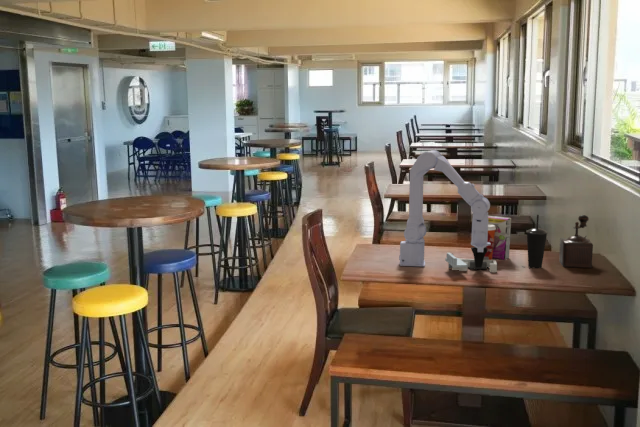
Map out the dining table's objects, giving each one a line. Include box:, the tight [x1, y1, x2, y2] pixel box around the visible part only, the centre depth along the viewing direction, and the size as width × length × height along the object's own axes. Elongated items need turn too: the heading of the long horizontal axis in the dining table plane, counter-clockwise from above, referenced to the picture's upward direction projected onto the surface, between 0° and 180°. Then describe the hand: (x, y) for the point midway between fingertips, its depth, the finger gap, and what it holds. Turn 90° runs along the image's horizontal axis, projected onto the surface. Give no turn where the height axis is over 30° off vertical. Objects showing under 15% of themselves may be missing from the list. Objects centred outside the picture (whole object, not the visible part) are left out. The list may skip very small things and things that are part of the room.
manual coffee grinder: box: [558, 214, 594, 269], centre depth 257 cm, size 16×11×18 cm
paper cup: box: [484, 224, 496, 260], centre depth 262 cm, size 8×8×14 cm
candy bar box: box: [488, 215, 512, 261], centre depth 266 cm, size 11×5×16 cm, turn 56°
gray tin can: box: [469, 261, 488, 271], centre depth 250 cm, size 6×3×3 cm
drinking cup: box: [525, 214, 548, 269], centre depth 251 cm, size 8×8×20 cm
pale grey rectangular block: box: [447, 252, 498, 273], centre depth 250 cm, size 17×8×6 cm, turn 81°
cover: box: [444, 252, 468, 268], centre depth 244 cm, size 11×5×3 cm, turn 6°
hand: (478, 267), depth 247 cm, fingers closed
